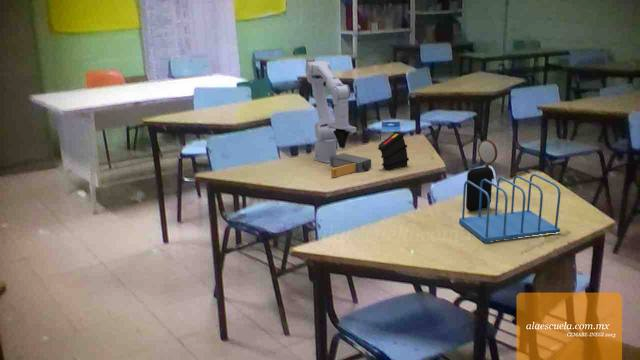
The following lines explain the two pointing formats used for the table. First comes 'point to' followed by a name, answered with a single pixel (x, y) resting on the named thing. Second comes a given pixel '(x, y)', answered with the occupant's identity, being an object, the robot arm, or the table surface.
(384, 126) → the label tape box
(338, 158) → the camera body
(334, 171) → the side door
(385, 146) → the magazine
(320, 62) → the robot arm
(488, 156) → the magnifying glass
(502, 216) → the file sorter
